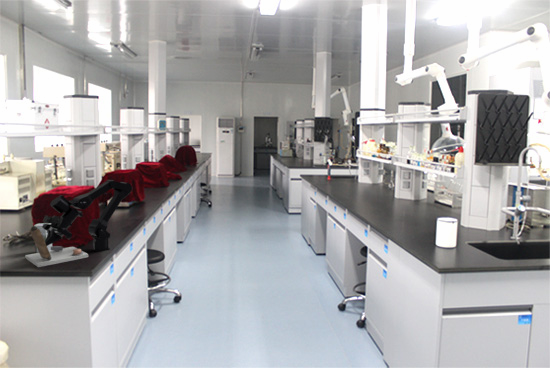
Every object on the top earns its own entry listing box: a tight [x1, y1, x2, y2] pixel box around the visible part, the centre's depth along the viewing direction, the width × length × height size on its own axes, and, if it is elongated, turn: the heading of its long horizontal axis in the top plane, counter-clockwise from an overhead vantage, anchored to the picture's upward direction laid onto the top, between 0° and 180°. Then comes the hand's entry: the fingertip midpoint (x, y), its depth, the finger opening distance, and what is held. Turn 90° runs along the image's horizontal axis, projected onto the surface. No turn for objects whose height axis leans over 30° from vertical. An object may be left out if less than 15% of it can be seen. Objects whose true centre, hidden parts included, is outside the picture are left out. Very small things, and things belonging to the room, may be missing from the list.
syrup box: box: [33, 222, 53, 253], centre depth 208 cm, size 6×6×14 cm
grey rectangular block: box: [51, 245, 64, 251], centre depth 204 cm, size 4×3×2 cm
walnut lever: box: [29, 225, 51, 260], centre depth 188 cm, size 3×6×17 cm, turn 53°
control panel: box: [24, 246, 89, 268], centre depth 198 cm, size 22×20×2 cm
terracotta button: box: [73, 248, 82, 255], centre depth 198 cm, size 4×4×2 cm
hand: (44, 246), depth 189 cm, fingers closed, pressing on walnut lever
